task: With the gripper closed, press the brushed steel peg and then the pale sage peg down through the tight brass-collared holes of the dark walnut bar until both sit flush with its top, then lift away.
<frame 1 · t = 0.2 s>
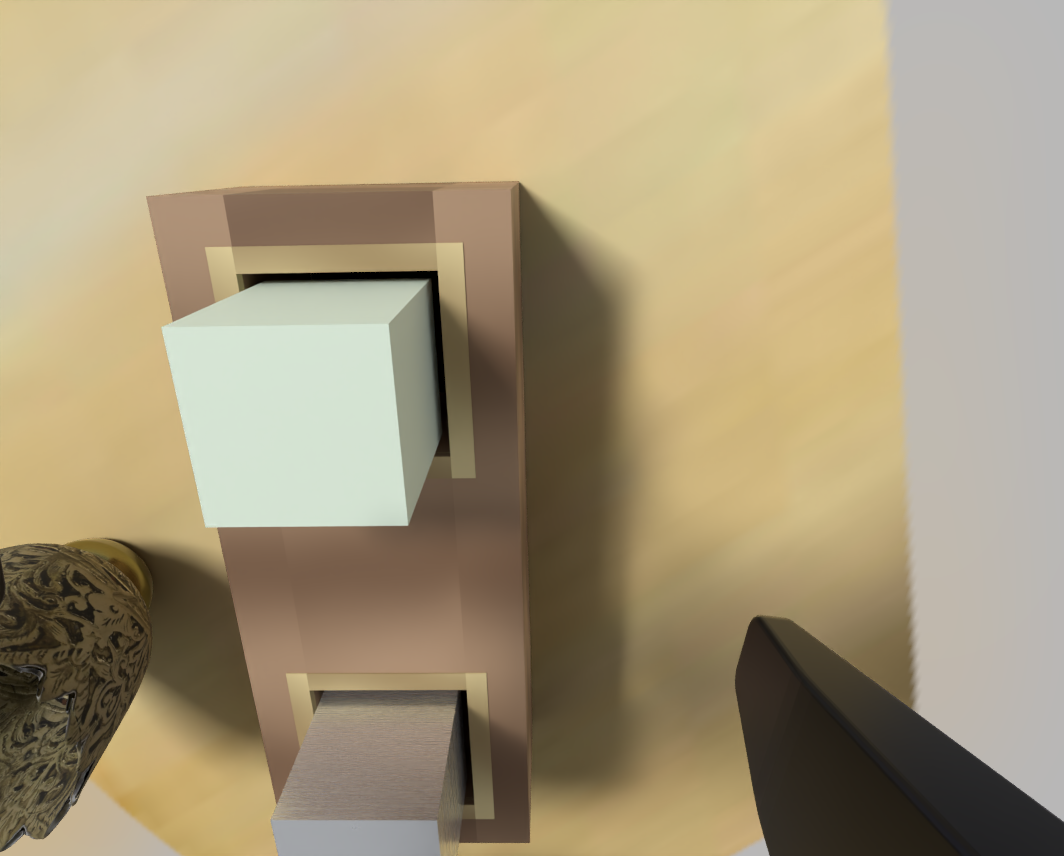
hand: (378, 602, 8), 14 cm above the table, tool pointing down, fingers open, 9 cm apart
walnut bar: (408, 496, 23), on the table
cup: (114, 570, 25), on the table
steel peg: (383, 794, 19), point 7 cm above the table, slide at 0.0 cm
sage peg: (329, 390, 15), point 7 cm above the table, slide at 0.0 cm
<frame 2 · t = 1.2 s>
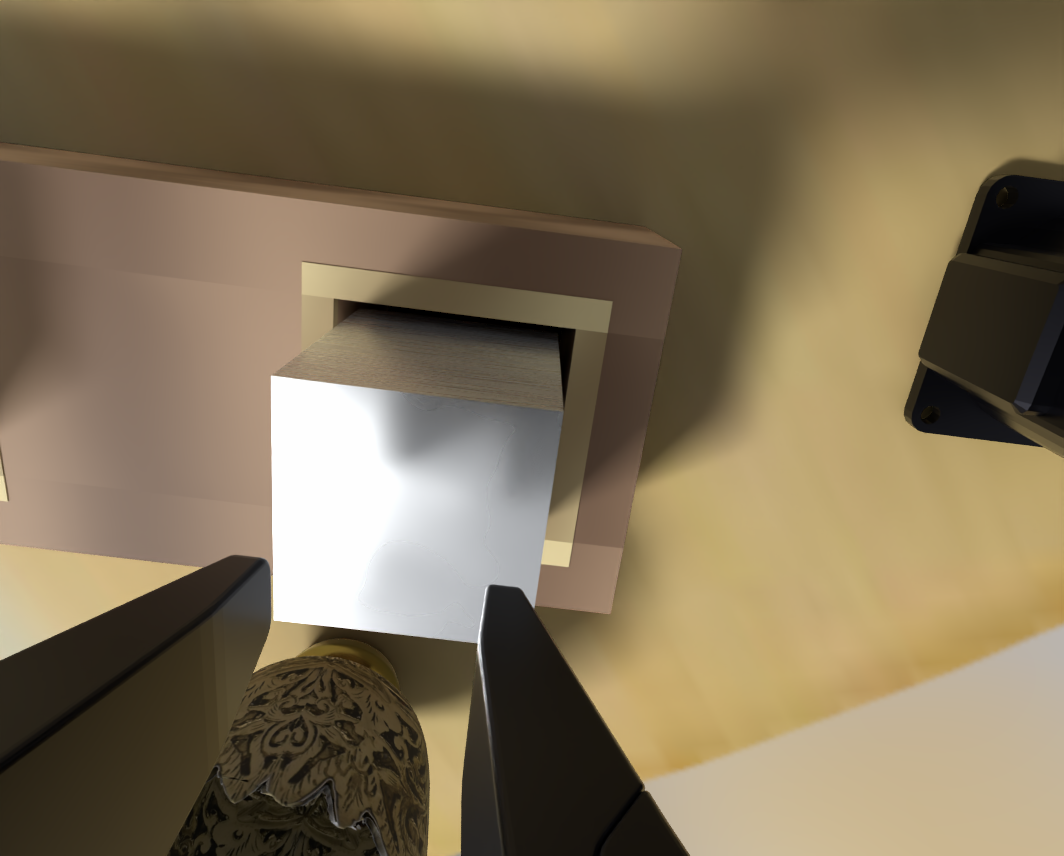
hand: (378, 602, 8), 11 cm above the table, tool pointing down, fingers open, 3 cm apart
walnut bar: (247, 332, 18), on the table
cup: (349, 670, 23), on the table
steel peg: (434, 457, 12), point 7 cm above the table, slide at 0.0 cm
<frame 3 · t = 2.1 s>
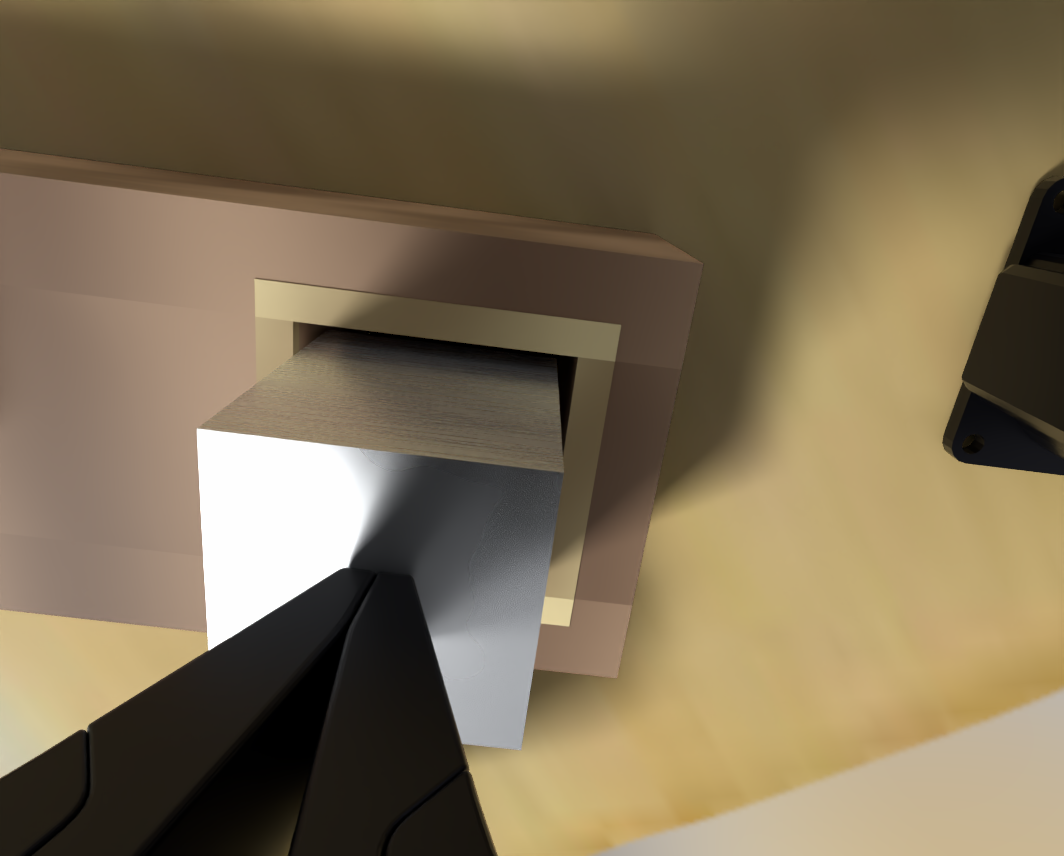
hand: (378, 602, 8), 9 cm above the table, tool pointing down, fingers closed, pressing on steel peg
walnut bar: (209, 352, 16), on the table
steel peg: (410, 510, 10), point 7 cm above the table, slide at 0.1 cm, touching gripper
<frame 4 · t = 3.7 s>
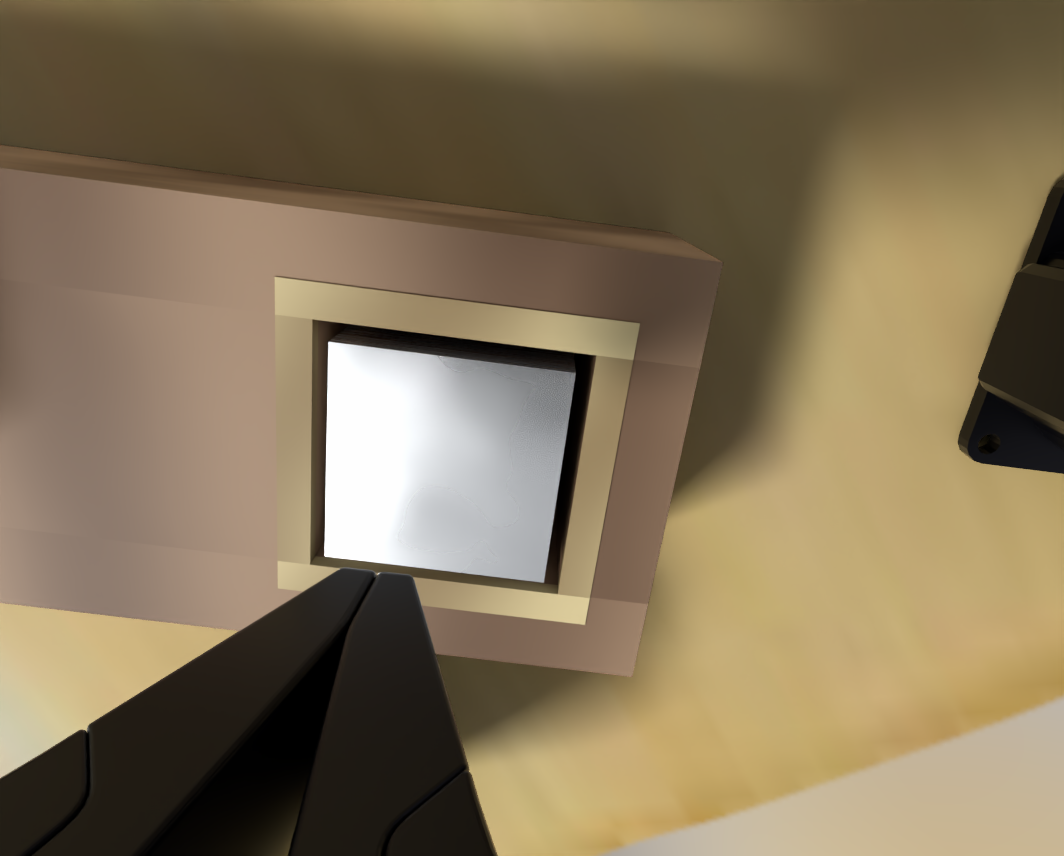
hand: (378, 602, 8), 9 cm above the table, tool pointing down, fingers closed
walnut bar: (225, 350, 16), on the table
steel peg: (460, 421, 14), point 3 cm above the table, slide at 3.8 cm
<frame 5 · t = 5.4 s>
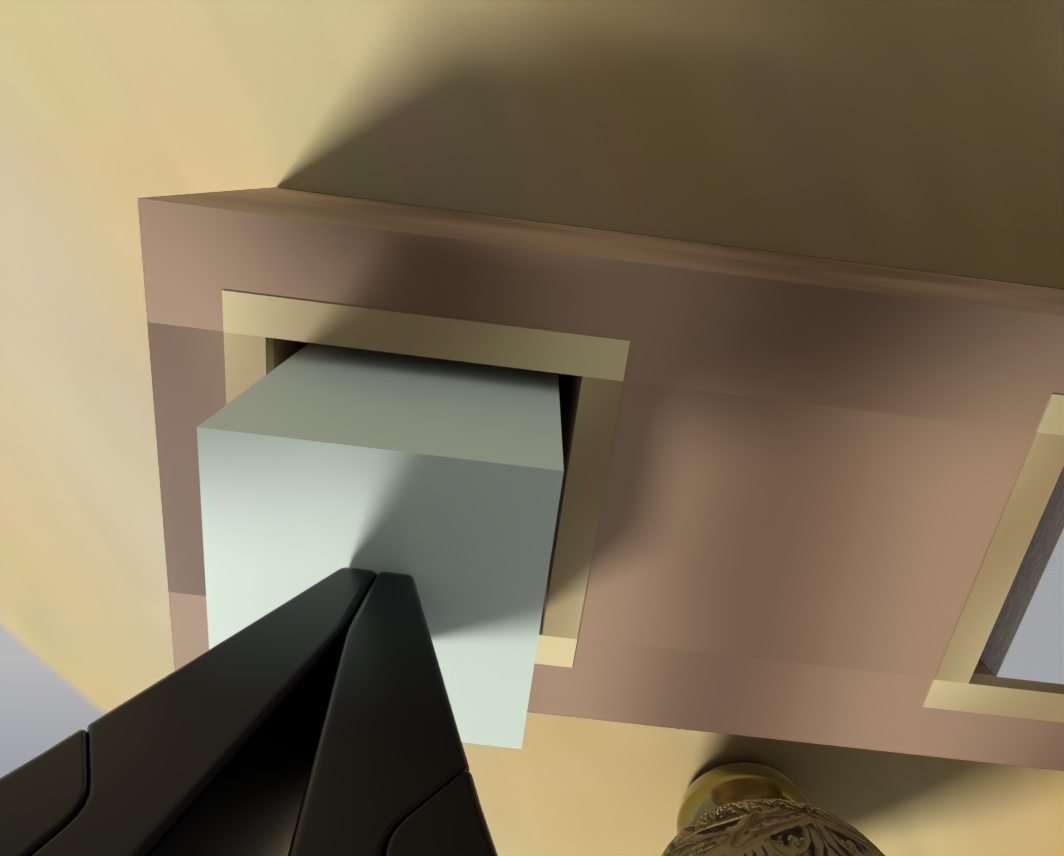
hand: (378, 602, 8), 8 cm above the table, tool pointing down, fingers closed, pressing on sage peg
walnut bar: (717, 429, 16), on the table
cup: (735, 792, 20), on the table
steel peg: (1058, 518, 13), point 3 cm above the table, slide at 3.8 cm
sage peg: (411, 509, 10), point 5 cm above the table, slide at 1.2 cm, touching gripper
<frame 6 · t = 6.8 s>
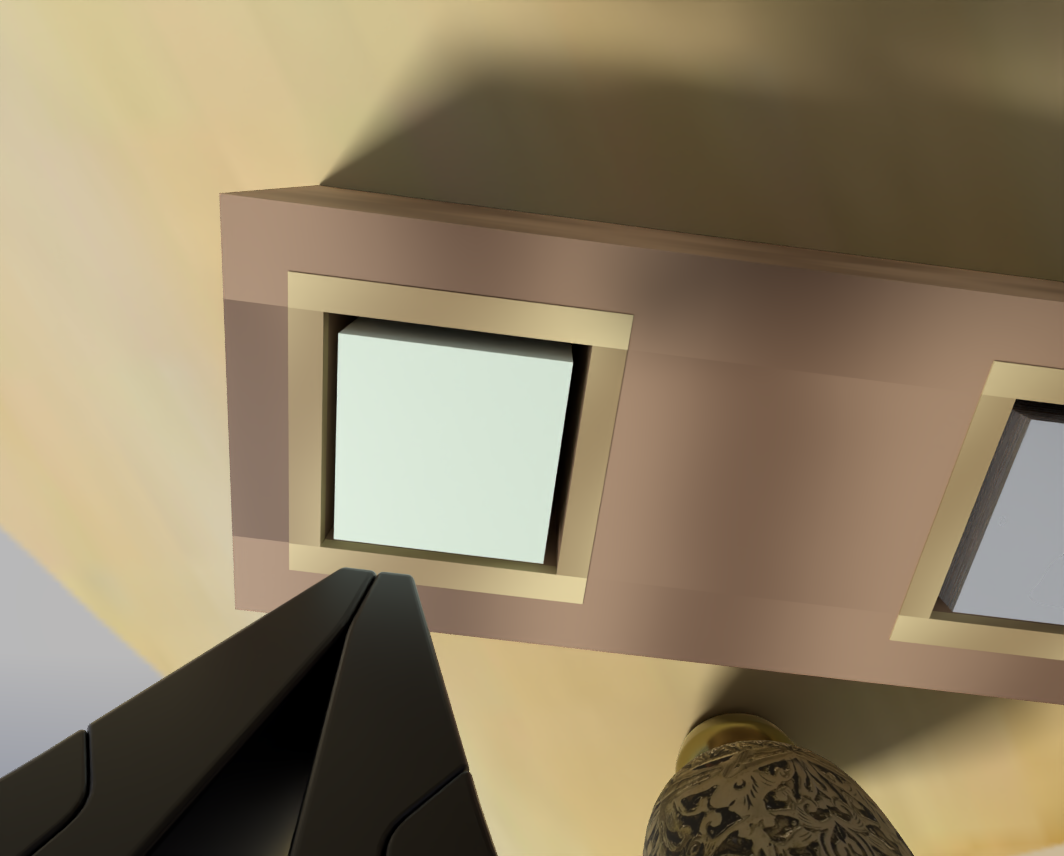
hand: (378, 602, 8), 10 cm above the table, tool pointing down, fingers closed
walnut bar: (712, 403, 17), on the table
cup: (729, 743, 22), on the table
steel peg: (1013, 478, 15), point 3 cm above the table, slide at 3.8 cm
sage peg: (462, 411, 15), point 3 cm above the table, slide at 3.8 cm
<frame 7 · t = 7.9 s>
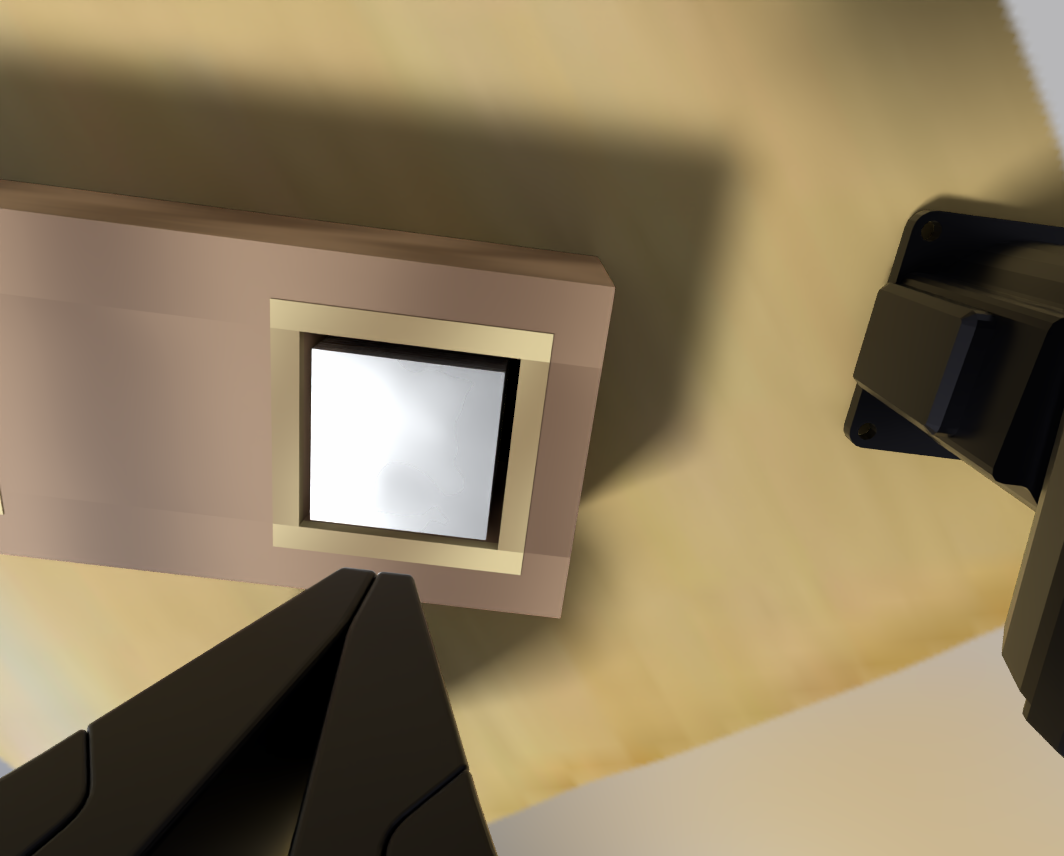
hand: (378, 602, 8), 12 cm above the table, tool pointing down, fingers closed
walnut bar: (228, 354, 20), on the table
steel peg: (421, 412, 17), point 3 cm above the table, slide at 3.8 cm
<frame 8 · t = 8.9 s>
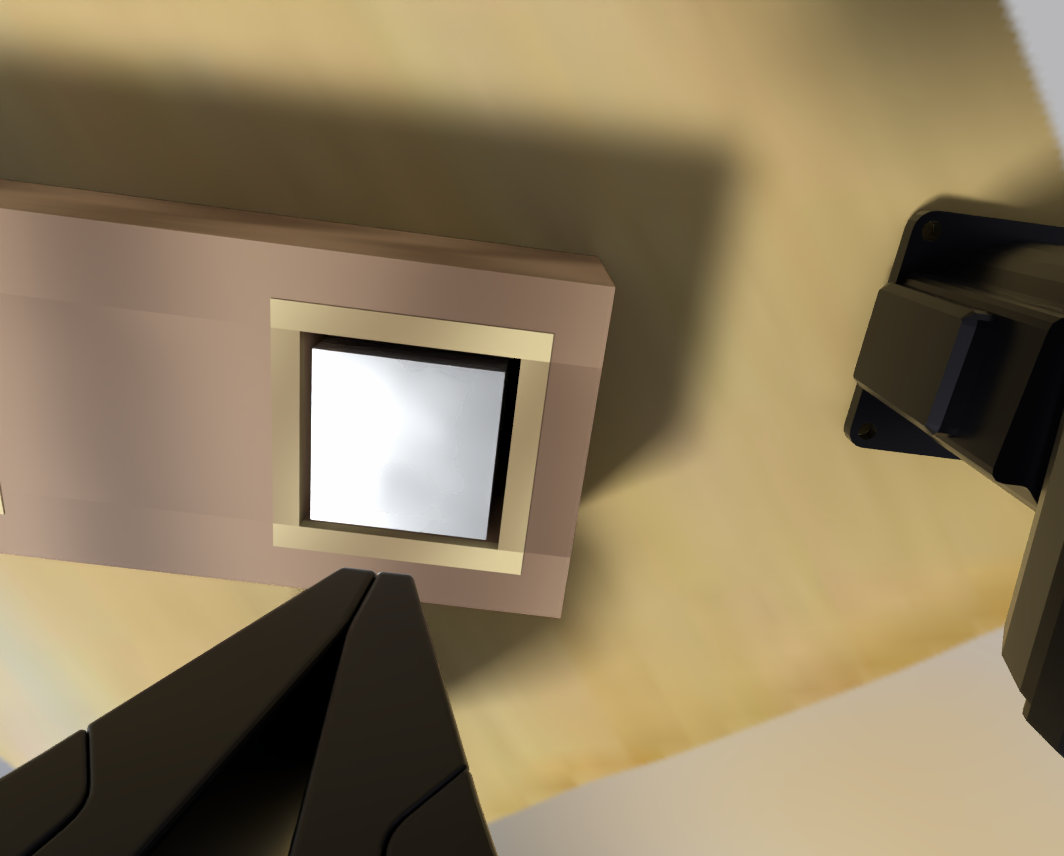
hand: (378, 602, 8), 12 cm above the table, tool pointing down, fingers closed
walnut bar: (228, 354, 20), on the table
steel peg: (422, 412, 17), point 3 cm above the table, slide at 3.8 cm
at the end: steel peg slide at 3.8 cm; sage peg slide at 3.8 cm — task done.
